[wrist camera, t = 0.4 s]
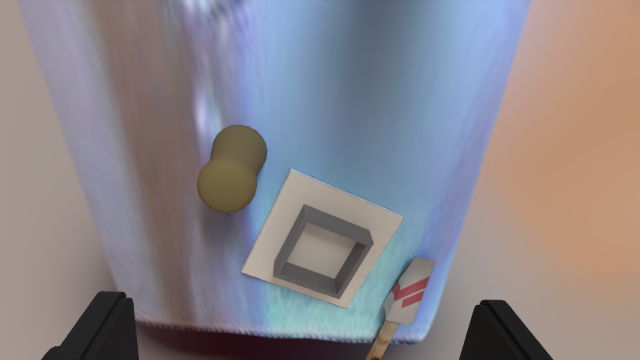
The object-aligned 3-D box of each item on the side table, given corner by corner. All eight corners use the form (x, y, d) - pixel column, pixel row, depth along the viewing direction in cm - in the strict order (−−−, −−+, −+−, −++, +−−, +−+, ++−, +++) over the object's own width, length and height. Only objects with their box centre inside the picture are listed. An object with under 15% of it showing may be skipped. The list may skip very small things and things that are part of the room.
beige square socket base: (290, 168, 44) (290, 181, 40) (401, 214, 47) (410, 231, 44) (242, 267, 49) (238, 287, 45) (345, 303, 52) (349, 324, 49)
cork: (235, 185, 44) (218, 235, 34) (201, 144, 42) (172, 184, 32) (277, 157, 43) (273, 200, 33) (245, 114, 41) (230, 145, 31)
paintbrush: (443, 269, 47) (382, 375, 55) (436, 255, 50) (379, 359, 58) (415, 262, 47) (358, 371, 55) (409, 249, 49) (355, 355, 57)
